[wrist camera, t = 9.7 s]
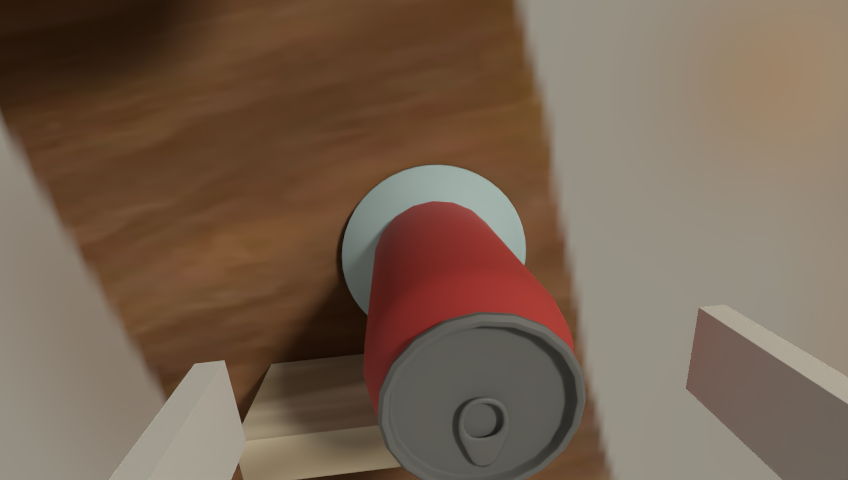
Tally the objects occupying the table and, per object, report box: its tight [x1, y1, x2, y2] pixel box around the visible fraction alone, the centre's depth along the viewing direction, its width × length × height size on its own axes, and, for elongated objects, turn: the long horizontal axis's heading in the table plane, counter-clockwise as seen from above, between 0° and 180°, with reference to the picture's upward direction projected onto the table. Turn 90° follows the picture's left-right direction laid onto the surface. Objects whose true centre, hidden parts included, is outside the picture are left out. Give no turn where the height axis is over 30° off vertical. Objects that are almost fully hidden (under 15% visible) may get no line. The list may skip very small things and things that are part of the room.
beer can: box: [363, 201, 586, 480], centre depth 16 cm, size 7×7×12 cm
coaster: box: [342, 164, 526, 315], centre depth 22 cm, size 10×10×1 cm
